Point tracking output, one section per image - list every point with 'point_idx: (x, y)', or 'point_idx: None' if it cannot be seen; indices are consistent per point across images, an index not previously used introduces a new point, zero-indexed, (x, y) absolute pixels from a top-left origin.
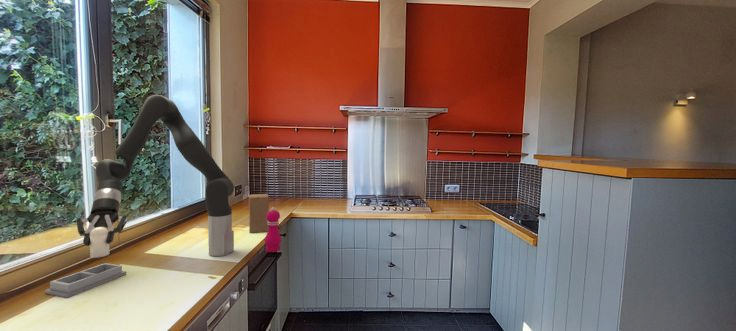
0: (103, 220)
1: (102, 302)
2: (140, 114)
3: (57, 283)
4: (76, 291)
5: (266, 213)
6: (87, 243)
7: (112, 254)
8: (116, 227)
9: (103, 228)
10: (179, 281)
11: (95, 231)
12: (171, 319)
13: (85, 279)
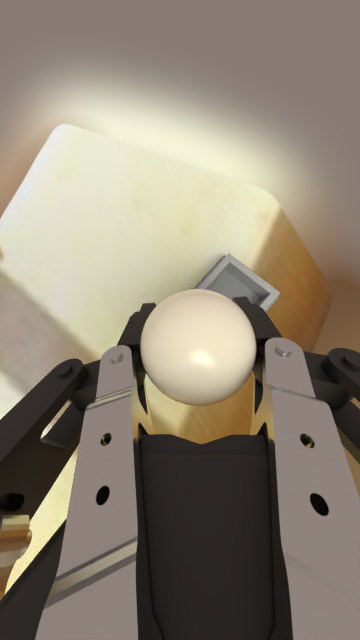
0: (183, 545)
1: (157, 216)
2: None
3: (257, 276)
4: (213, 267)
5: None
6: (234, 298)
7: None
8: (77, 374)
9: (157, 326)
10: (49, 255)
11: (207, 292)
12: (58, 132)
13: (205, 279)
